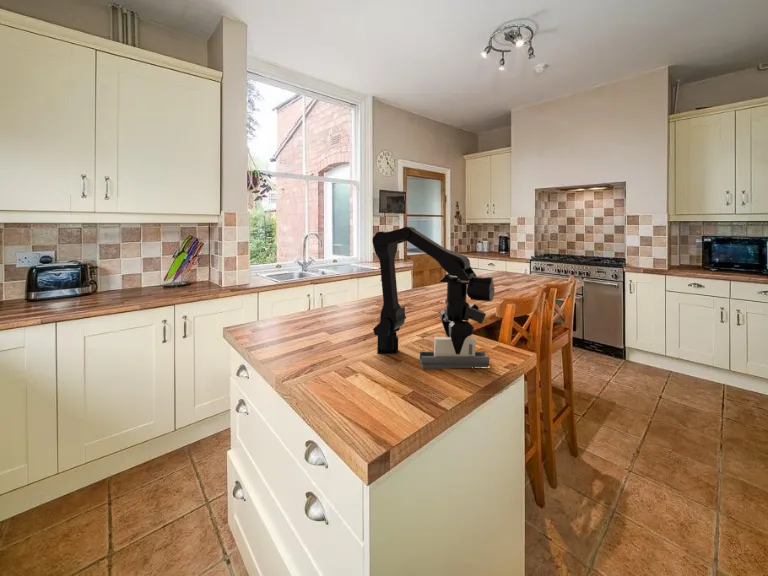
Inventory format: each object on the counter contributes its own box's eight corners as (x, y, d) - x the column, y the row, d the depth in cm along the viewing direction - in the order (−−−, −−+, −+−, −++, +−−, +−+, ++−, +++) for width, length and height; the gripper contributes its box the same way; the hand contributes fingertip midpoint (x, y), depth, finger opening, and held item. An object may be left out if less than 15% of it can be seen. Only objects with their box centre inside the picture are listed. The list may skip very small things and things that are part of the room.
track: (422, 368, 104) (422, 358, 104) (419, 358, 112) (419, 349, 112) (490, 368, 104) (491, 359, 104) (482, 359, 112) (483, 349, 112)
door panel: (435, 362, 106) (436, 339, 105) (433, 359, 109) (434, 337, 108) (475, 362, 107) (476, 340, 106) (472, 359, 110) (473, 337, 108)
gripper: (493, 304, 96) (490, 360, 98) (475, 292, 114) (472, 339, 117) (452, 304, 96) (450, 360, 98) (440, 292, 114) (439, 339, 117)
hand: (454, 348), depth 107 cm, fingers open, 9 cm apart
